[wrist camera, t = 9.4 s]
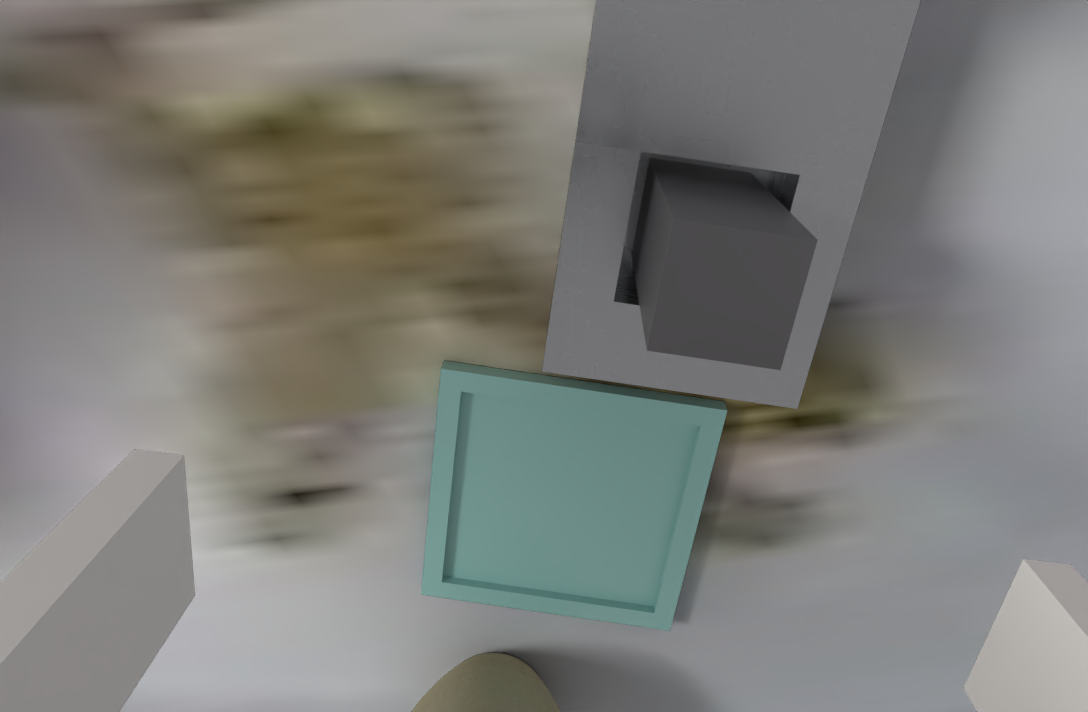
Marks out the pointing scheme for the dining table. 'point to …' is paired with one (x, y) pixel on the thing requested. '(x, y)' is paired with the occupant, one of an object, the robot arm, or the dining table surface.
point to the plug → (717, 265)
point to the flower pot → (489, 688)
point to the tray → (565, 494)
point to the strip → (718, 161)
